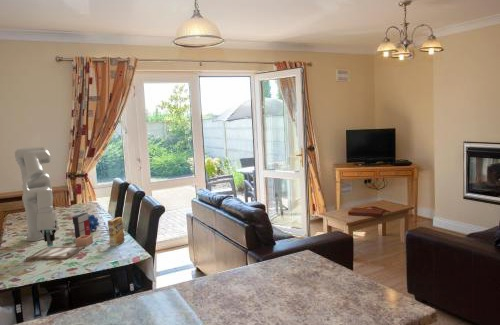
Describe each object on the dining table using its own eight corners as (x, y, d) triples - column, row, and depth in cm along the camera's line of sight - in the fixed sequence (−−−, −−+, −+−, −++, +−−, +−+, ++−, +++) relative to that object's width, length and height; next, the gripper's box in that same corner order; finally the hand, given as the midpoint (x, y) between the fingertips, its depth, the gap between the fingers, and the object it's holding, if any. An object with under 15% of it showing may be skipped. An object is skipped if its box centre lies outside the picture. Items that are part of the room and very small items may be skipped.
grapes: (84, 234, 255) (82, 216, 254) (81, 232, 260) (79, 215, 259) (101, 230, 263) (100, 213, 261) (98, 228, 268) (96, 211, 266)
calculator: (80, 240, 241) (78, 217, 240) (74, 240, 242) (72, 217, 241) (91, 235, 252) (88, 212, 250) (85, 234, 253) (83, 212, 251)
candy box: (115, 246, 225) (113, 221, 224) (109, 245, 227) (107, 220, 225) (124, 241, 234) (122, 217, 232) (119, 241, 235) (116, 216, 233)
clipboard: (26, 260, 210) (25, 256, 210) (46, 248, 228) (46, 245, 228) (66, 259, 207) (66, 255, 207) (84, 248, 225) (84, 244, 225)
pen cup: (76, 246, 229) (75, 239, 229) (82, 242, 236) (81, 235, 236) (87, 246, 229) (86, 238, 228) (93, 242, 235) (92, 235, 235)
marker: (46, 246, 220) (44, 229, 219) (49, 245, 223) (47, 228, 222) (51, 246, 220) (49, 229, 219) (54, 245, 223) (52, 228, 222)
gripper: (28, 212, 217) (32, 243, 218) (55, 210, 215) (59, 242, 216) (37, 209, 224) (41, 239, 226) (63, 207, 222) (66, 238, 224)
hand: (49, 240), depth 221 cm, fingers closed on marker, 3 cm apart
